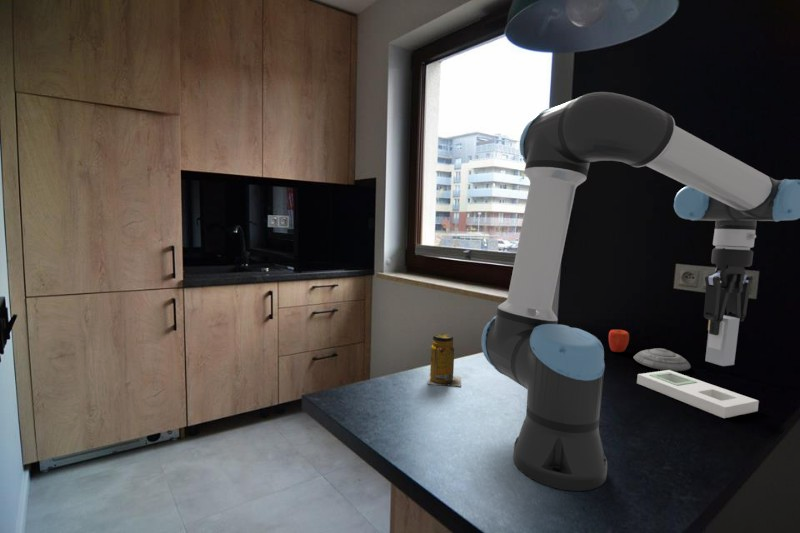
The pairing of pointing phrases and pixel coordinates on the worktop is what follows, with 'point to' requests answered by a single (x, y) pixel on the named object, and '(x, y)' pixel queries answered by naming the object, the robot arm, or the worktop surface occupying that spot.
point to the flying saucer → (662, 360)
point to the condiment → (443, 361)
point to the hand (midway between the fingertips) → (721, 347)
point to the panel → (698, 393)
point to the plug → (725, 343)
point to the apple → (618, 340)
